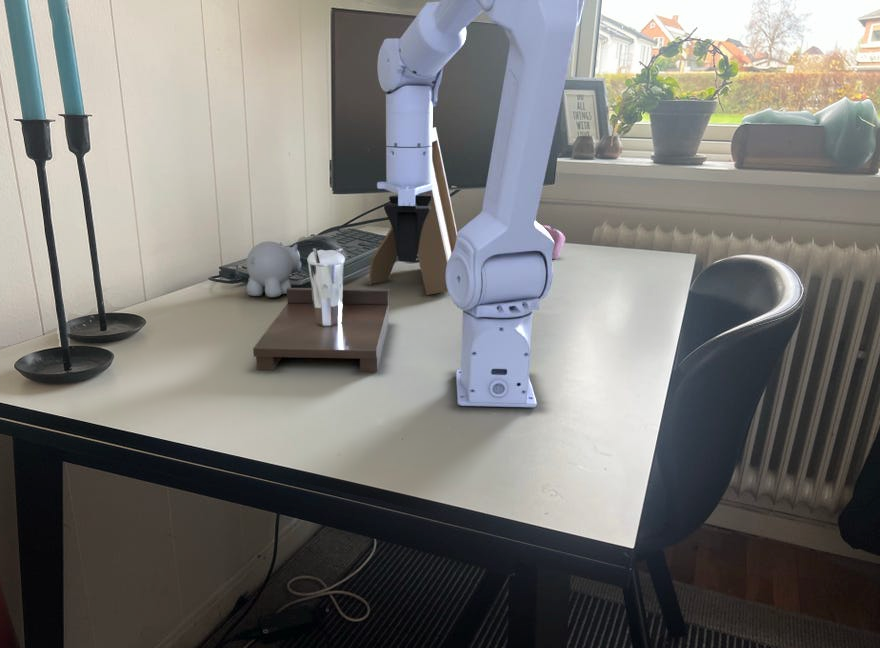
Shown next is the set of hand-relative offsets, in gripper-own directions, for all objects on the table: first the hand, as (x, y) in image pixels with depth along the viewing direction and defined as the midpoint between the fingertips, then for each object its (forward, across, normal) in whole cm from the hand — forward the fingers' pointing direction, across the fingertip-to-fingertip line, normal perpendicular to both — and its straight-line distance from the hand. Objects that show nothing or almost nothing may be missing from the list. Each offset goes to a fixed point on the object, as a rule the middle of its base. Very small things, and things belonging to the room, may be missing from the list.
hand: (408, 254), depth 92 cm
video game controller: (+11, -52, +24) cm, 58 cm away
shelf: (+10, +7, -10) cm, 16 cm away
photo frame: (+11, -30, 0) cm, 32 cm away
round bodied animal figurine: (+11, -20, -22) cm, 31 cm away
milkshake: (+8, +7, -10) cm, 14 cm away
